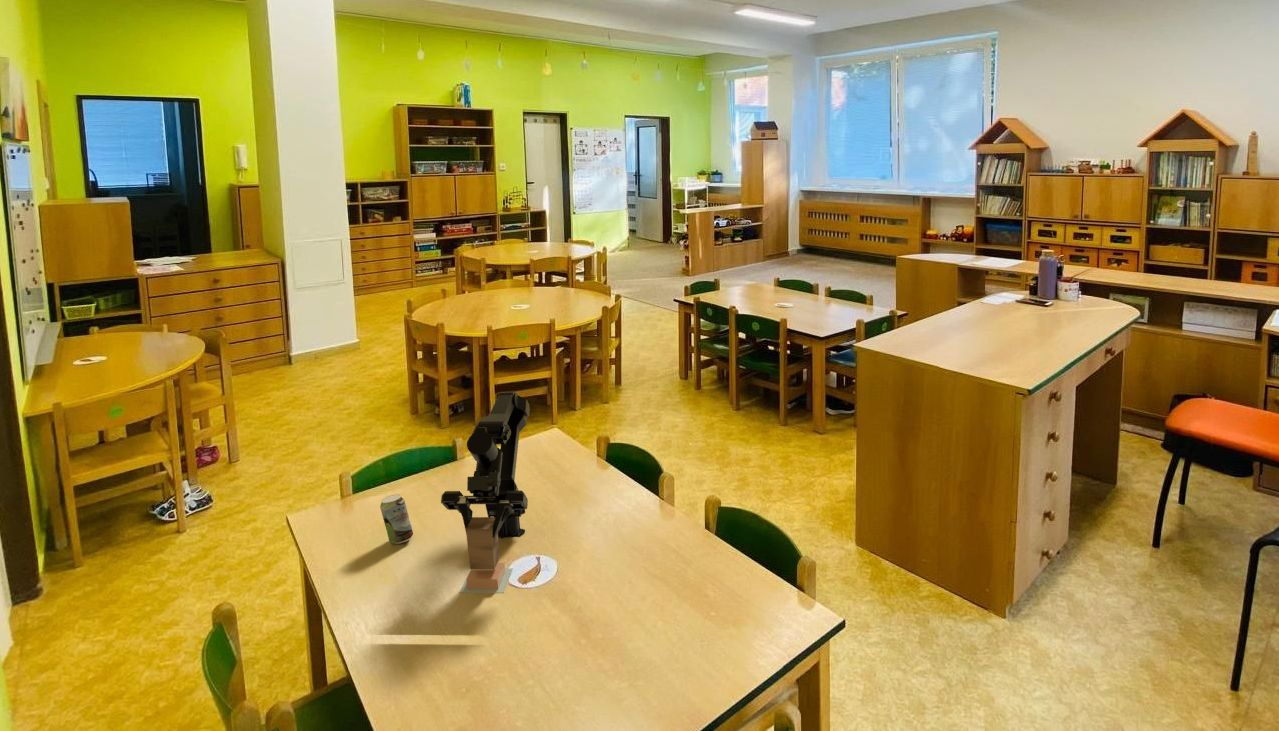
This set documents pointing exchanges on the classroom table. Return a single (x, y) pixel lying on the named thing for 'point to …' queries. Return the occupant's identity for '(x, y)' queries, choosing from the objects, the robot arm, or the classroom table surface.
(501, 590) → the grey flat square slab
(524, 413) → the robot arm
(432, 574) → the classroom table surface
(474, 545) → the walnut pillar
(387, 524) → the beverage can
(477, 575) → the terracotta tile
